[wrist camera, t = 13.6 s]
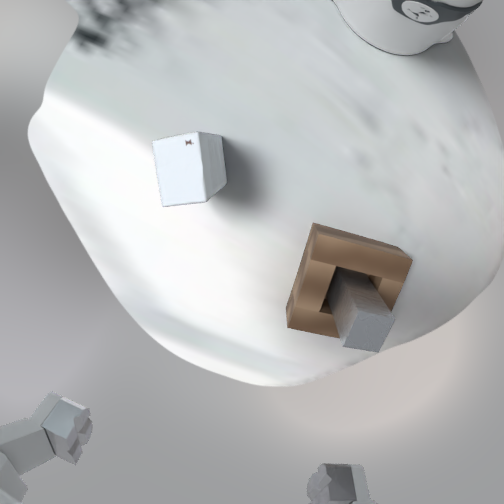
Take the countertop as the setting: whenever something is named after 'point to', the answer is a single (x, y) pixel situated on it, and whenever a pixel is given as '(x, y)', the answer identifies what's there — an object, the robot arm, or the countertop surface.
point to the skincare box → (189, 167)
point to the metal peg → (358, 310)
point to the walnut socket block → (323, 266)
